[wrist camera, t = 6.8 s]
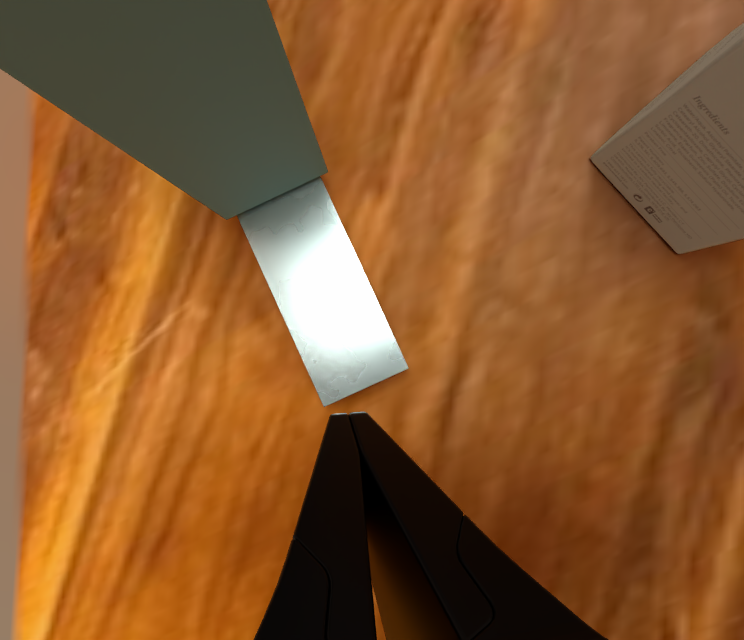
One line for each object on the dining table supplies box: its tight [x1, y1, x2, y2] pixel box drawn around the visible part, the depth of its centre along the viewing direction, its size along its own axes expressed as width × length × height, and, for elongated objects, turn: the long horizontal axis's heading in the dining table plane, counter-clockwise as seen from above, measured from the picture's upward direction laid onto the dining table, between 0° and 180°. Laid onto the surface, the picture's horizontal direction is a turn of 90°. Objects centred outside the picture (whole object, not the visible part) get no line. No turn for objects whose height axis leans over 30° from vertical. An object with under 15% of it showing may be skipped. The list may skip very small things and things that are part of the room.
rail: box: [237, 176, 408, 407], centre depth 13 cm, size 20×5×14 cm, turn 25°
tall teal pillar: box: [0, 0, 328, 220], centre depth 11 cm, size 5×5×12 cm
